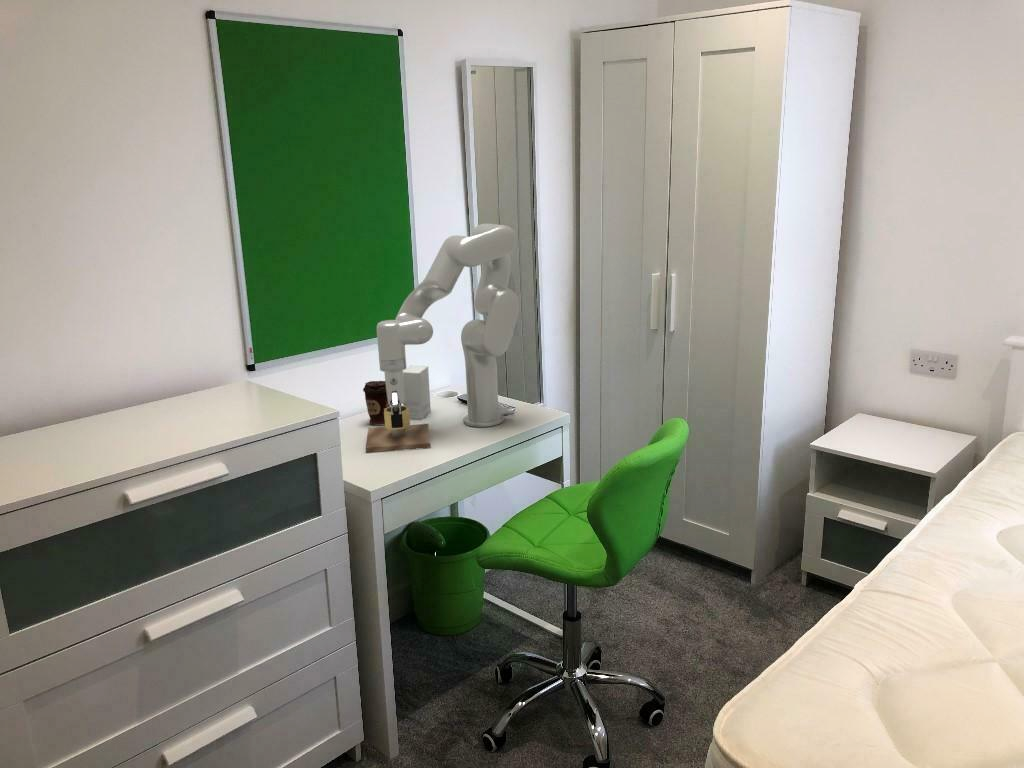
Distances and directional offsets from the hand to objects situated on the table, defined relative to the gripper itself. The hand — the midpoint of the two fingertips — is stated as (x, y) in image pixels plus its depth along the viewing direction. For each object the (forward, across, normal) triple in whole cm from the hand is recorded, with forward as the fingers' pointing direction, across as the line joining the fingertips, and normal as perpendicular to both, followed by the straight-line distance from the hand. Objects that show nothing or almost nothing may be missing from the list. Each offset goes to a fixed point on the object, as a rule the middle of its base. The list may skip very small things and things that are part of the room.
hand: (397, 422), depth 241 cm
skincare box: (+5, +23, -6) cm, 24 cm away
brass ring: (+1, 0, 0) cm, 1 cm away
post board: (+5, 0, 0) cm, 5 cm away
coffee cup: (+5, +18, +6) cm, 20 cm away
